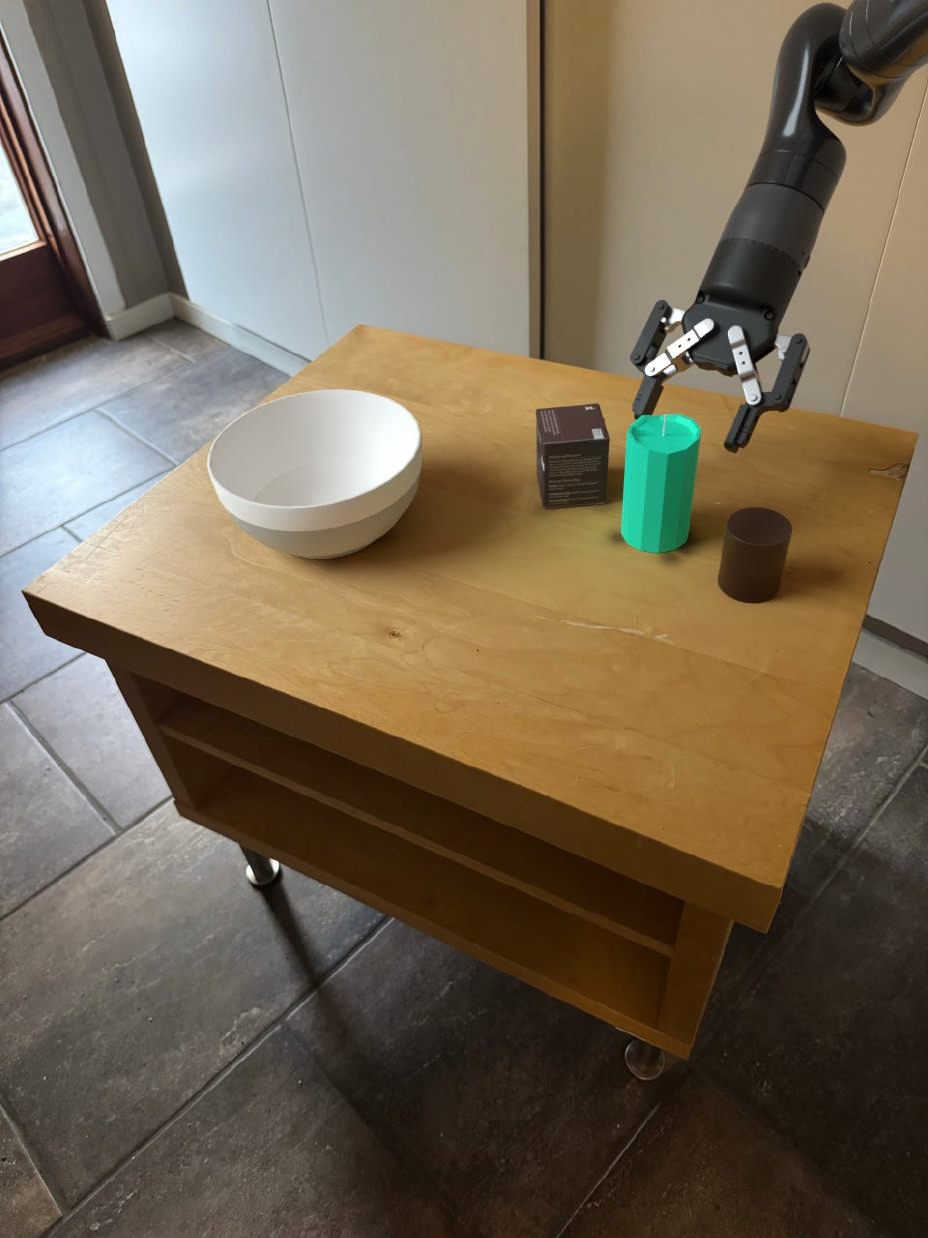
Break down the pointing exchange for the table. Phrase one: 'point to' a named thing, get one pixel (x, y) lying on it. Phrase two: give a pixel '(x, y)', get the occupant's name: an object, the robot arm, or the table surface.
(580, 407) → the box
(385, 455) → the bowl
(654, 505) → the candle
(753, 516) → the walnut post
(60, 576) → the table surface
